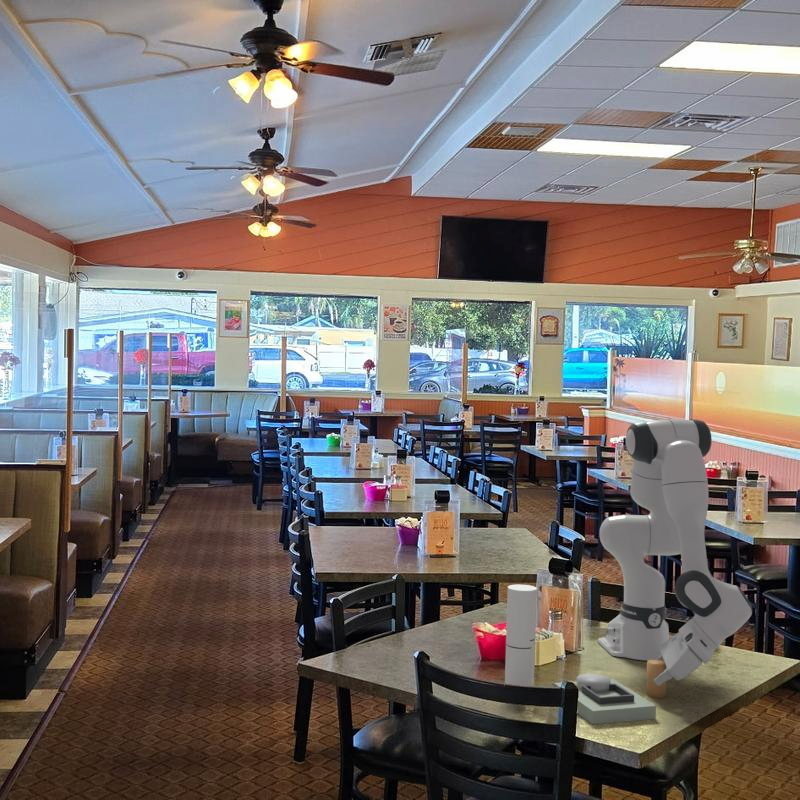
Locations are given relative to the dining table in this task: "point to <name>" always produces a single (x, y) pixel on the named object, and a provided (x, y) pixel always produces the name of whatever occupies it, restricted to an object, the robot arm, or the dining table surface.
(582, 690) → the stepped grey tray
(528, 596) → the cylindrical container
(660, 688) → the orange cylinder
